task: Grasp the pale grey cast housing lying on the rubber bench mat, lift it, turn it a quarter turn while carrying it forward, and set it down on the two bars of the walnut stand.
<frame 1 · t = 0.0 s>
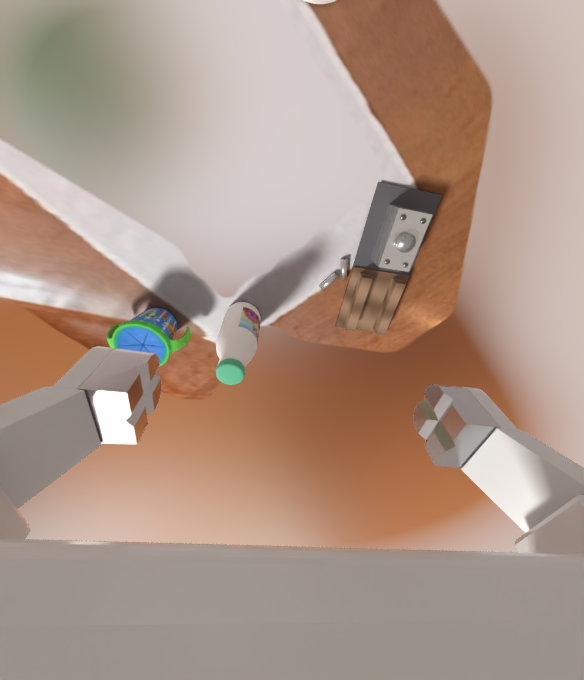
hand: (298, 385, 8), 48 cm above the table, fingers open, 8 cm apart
pin b: (329, 281, 57), on the table, tilted 26°
stand: (370, 301, 60), on the table
housing: (394, 235, 52), resting on bench mat
milk bottle: (243, 316, 61), on the table
pin a: (346, 268, 56), on the table, tilted 49°
snack cup: (160, 321, 61), on the table
bench mat: (393, 235, 52), on the table
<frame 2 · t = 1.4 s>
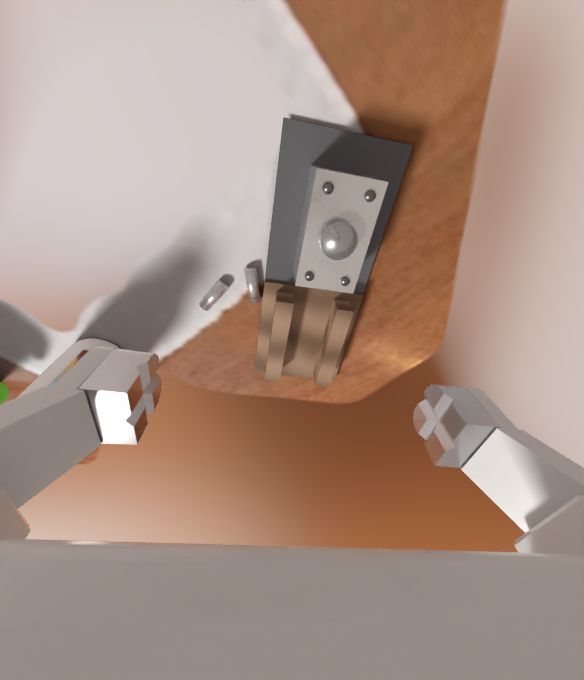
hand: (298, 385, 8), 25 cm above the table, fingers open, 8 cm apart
pin b: (210, 295, 32), point 1 cm above the table, tilted 144°
stand: (303, 333, 37), on the table
housing: (328, 226, 29), resting on bench mat
milk bottle: (103, 358, 38), on the table
pin a: (252, 282, 33), on the table
bench mat: (328, 225, 29), on the table
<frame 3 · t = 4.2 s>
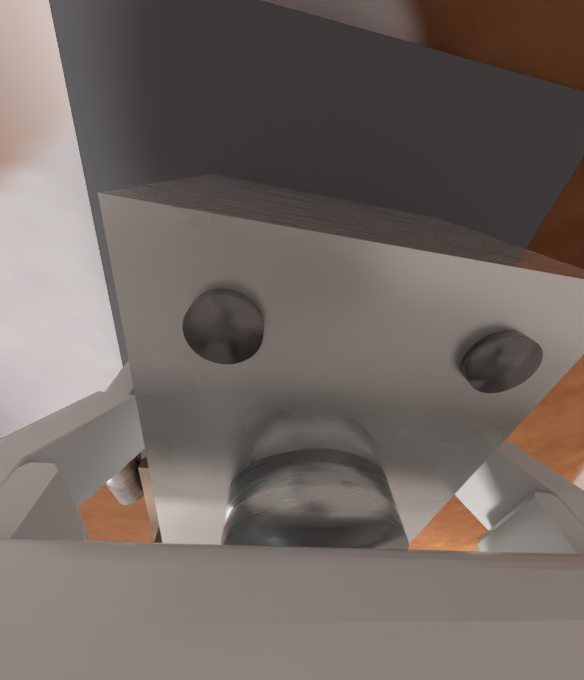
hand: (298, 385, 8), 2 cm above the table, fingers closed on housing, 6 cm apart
stand: (256, 525, 17), on the table
housing: (295, 353, 10), resting on bench mat, touching gripper
pin a: (115, 456, 13), on the table, tilted 34°
bench mat: (295, 346, 10), on the table
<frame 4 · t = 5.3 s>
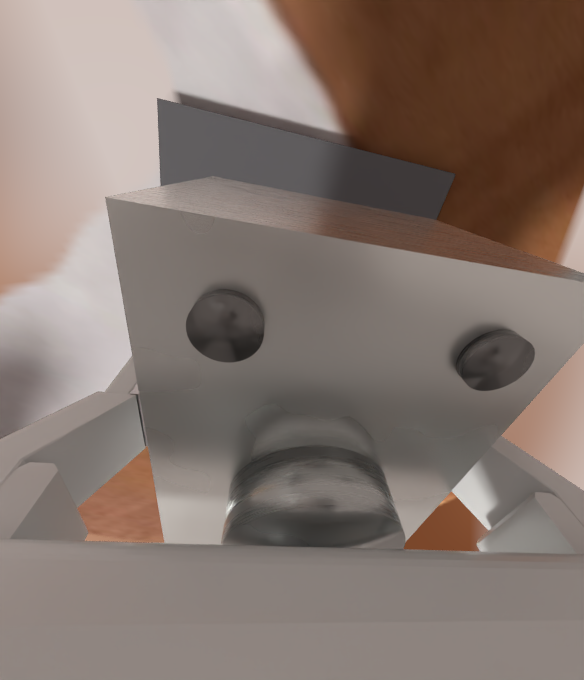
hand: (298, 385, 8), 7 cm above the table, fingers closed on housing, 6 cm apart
housing: (295, 352, 10), point 5 cm above the table, touching gripper
bench mat: (281, 316, 15), on the table
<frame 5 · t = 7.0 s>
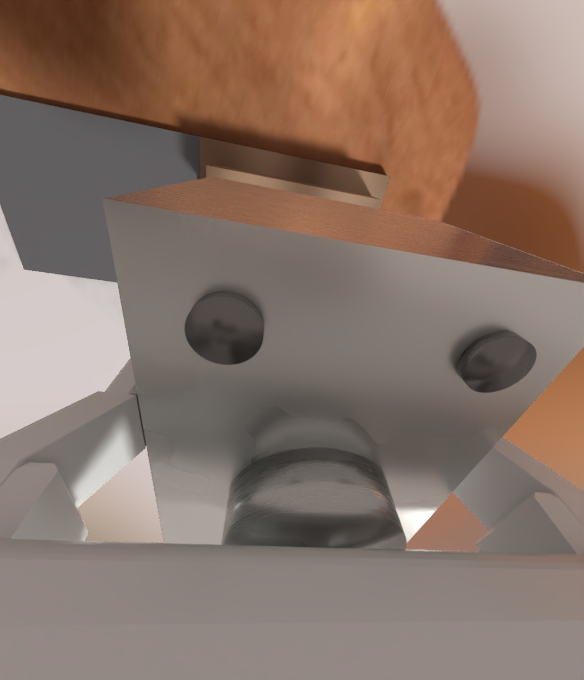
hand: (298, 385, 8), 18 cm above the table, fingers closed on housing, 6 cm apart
stand: (285, 239, 24), on the table
housing: (295, 353, 10), point 17 cm above the table, touching gripper
bench mat: (112, 210, 22), on the table
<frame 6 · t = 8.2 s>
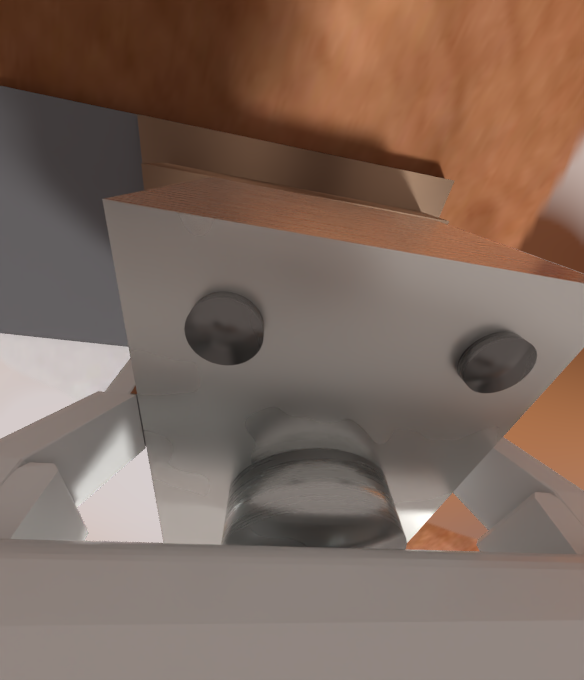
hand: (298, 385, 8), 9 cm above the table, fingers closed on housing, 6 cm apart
stand: (285, 275, 16), on the table
housing: (295, 353, 10), point 7 cm above the table, touching gripper
bench mat: (14, 235, 14), on the table
when the fingers open (6 cm above the table, at t = 9.6 s): housing drops 1 cm, resting on stand.
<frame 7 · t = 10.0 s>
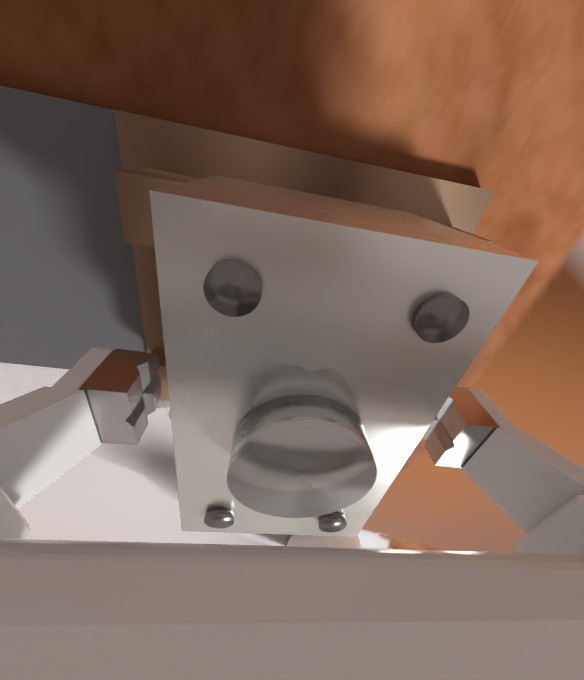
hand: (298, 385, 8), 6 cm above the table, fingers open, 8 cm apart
stand: (291, 296, 14), on the table
housing: (291, 334, 11), point 3 cm above the table, touching stand
milk bottle: (322, 536, 29), on the table
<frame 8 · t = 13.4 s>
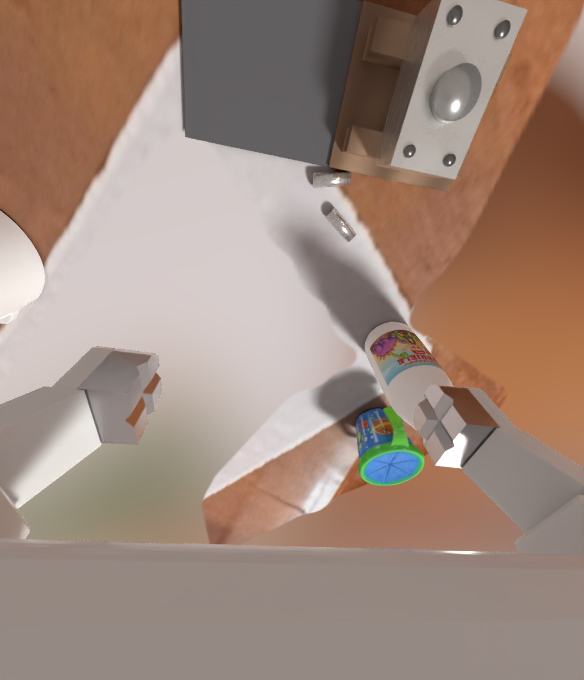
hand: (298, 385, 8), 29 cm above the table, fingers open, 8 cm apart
pin b: (341, 226, 32), point 1 cm above the table, tilted 178°
stand: (408, 111, 28), on the table
housing: (422, 107, 25), point 3 cm above the table, touching stand
milk bottle: (387, 340, 43), on the table
pin a: (330, 186, 31), on the table, tilted 68°
snack cup: (373, 419, 53), on the table
bench mat: (271, 77, 26), on the table
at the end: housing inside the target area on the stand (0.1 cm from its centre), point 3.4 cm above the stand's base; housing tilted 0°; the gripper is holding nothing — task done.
